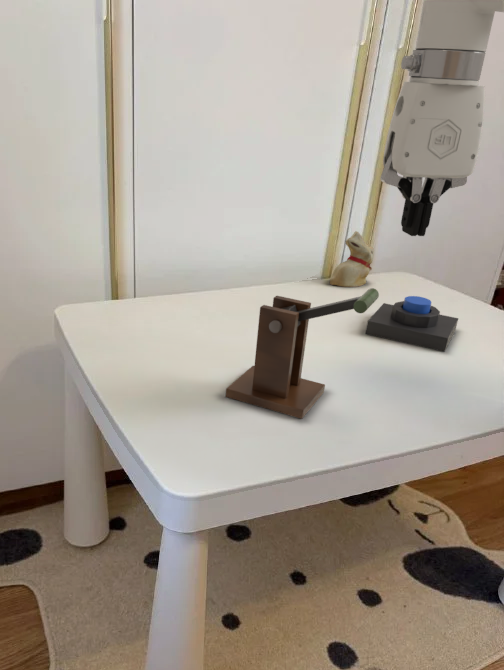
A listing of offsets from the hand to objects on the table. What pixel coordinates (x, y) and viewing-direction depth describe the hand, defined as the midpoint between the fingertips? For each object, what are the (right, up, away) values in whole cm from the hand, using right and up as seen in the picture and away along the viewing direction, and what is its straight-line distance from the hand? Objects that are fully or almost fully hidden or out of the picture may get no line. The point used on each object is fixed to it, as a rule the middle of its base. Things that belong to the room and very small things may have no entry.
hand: (412, 233), depth 80 cm
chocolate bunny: (+2, +1, +42) cm, 42 cm away
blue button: (+7, -7, +19) cm, 21 cm away
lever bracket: (-17, -20, -1) cm, 27 cm away
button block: (+6, -10, +20) cm, 24 cm away
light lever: (-13, -12, -8) cm, 19 cm away
